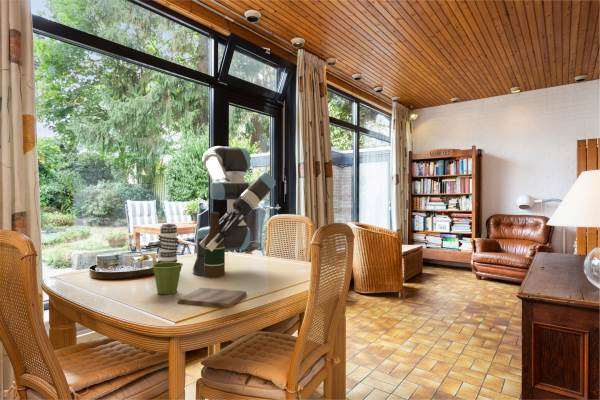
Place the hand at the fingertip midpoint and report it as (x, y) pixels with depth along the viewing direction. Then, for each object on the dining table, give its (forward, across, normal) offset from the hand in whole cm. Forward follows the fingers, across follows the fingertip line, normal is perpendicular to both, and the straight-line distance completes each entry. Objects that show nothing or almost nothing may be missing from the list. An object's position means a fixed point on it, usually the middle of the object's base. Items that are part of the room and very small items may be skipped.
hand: (205, 247), depth 126 cm
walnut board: (+12, +1, -17) cm, 20 cm away
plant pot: (+21, +19, -8) cm, 29 cm away
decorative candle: (+15, +52, -13) cm, 56 cm away
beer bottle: (+5, 0, -10) cm, 12 cm away
